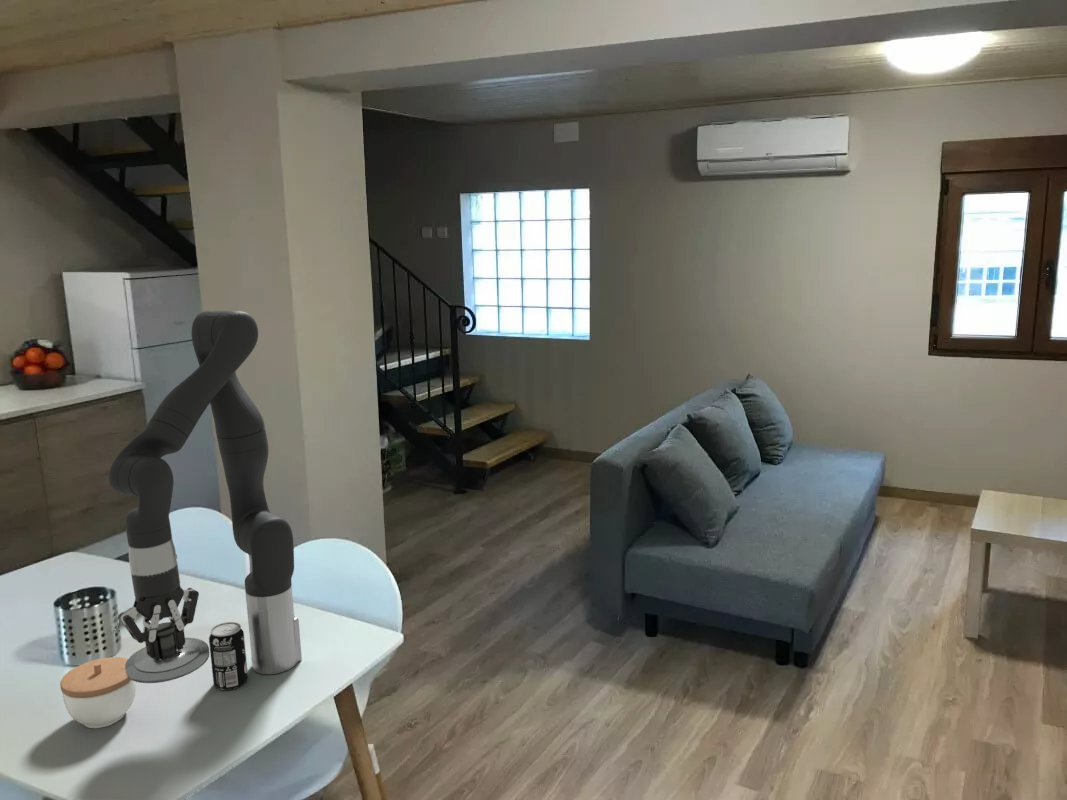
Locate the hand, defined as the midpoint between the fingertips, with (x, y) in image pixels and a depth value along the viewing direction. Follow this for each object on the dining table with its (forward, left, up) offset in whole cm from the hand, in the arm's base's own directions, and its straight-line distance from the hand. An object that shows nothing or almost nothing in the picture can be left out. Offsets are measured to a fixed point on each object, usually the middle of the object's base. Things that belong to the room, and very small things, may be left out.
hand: (167, 652), depth 150 cm
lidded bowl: (+7, -14, -16) cm, 22 cm away
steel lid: (0, 0, -2) cm, 2 cm away
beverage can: (-15, -7, -16) cm, 23 cm away
